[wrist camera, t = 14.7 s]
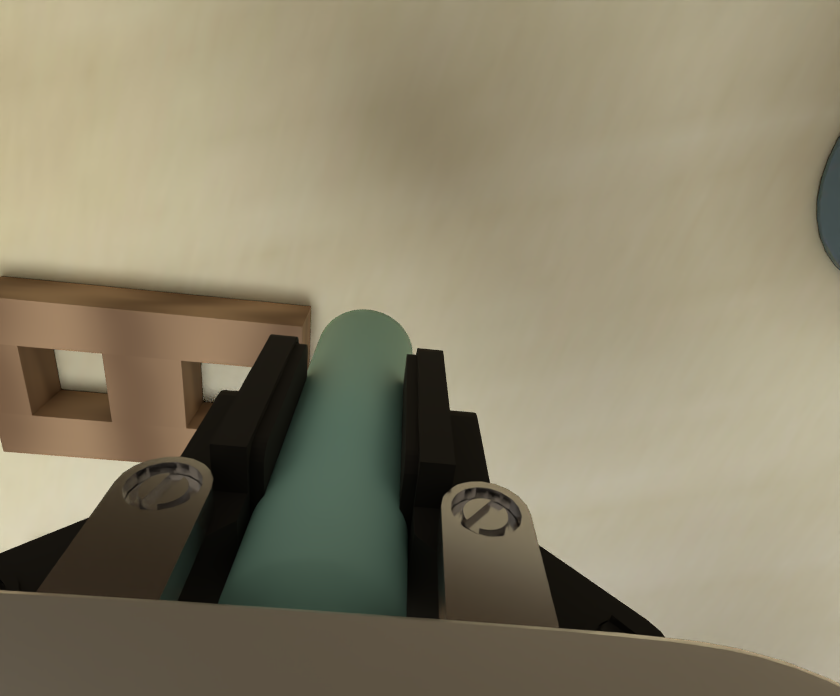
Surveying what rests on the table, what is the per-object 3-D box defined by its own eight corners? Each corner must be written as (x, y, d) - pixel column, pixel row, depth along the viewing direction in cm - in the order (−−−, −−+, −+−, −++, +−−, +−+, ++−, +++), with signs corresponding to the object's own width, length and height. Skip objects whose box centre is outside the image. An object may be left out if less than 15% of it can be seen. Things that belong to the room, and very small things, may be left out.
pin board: (311, 306, 27) (302, 326, 24) (306, 445, 30) (298, 474, 28) (1, 276, 26) (-36, 294, 24) (33, 423, 29) (3, 451, 27)
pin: (420, 317, 14) (420, 571, 7) (404, 400, 15) (390, 699, 8) (322, 302, 14) (216, 545, 7) (313, 387, 15) (213, 679, 8)
